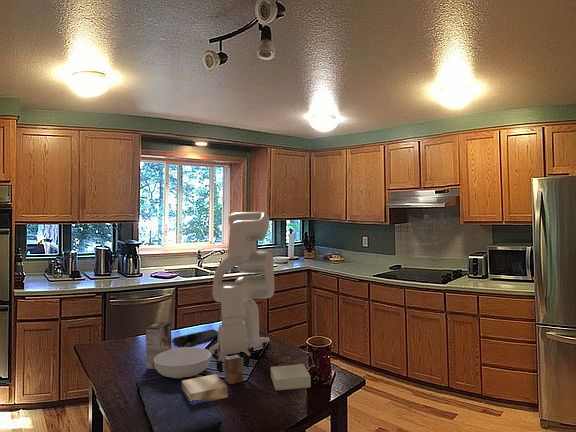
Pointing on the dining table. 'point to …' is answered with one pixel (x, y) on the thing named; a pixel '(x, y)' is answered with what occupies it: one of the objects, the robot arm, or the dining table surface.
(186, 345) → the dark slate chunk
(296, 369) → the sage riser block
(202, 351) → the serving bowl
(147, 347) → the coffee box
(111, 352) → the dining table surface
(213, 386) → the maple riser block
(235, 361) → the walnut block
